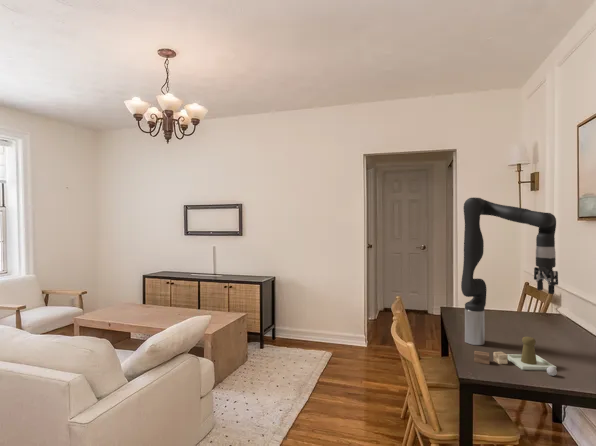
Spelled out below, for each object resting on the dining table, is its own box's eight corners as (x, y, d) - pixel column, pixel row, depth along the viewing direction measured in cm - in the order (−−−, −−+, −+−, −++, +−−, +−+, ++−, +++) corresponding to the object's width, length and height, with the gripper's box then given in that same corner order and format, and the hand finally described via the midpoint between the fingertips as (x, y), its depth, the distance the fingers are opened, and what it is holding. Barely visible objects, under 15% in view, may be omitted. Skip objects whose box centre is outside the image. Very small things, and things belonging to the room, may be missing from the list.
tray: (505, 357, 172) (505, 354, 172) (536, 358, 171) (536, 354, 171) (522, 370, 158) (522, 366, 158) (556, 370, 157) (556, 366, 157)
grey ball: (544, 373, 154) (544, 365, 154) (553, 373, 154) (553, 365, 154) (550, 377, 151) (550, 368, 151) (558, 377, 150) (559, 368, 150)
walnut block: (474, 359, 170) (474, 350, 170) (488, 361, 168) (488, 352, 168) (474, 362, 166) (474, 353, 166) (489, 364, 164) (489, 355, 164)
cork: (529, 359, 168) (529, 334, 168) (540, 364, 162) (540, 339, 162) (517, 359, 168) (517, 335, 167) (527, 364, 162) (527, 339, 161)
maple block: (493, 360, 168) (493, 352, 168) (501, 360, 169) (501, 351, 169) (499, 364, 164) (499, 355, 164) (507, 363, 165) (507, 354, 165)
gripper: (528, 254, 176) (528, 288, 176) (546, 258, 162) (546, 295, 162) (544, 254, 176) (544, 289, 176) (564, 257, 161) (564, 295, 162)
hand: (545, 291), depth 169 cm, fingers open, 8 cm apart
